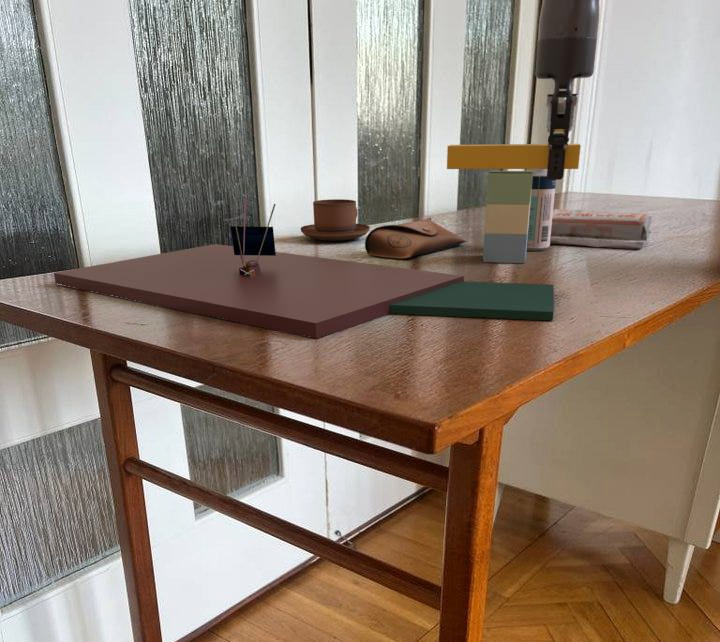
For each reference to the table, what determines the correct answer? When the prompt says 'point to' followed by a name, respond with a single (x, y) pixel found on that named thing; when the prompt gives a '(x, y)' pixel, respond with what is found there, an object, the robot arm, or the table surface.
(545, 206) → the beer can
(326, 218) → the cup and saucer
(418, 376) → the table surface
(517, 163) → the bar
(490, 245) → the tower
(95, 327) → the table surface
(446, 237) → the sunglasses case
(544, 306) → the mat
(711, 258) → the table surface
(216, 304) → the board
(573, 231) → the packaged product
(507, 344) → the table surface
